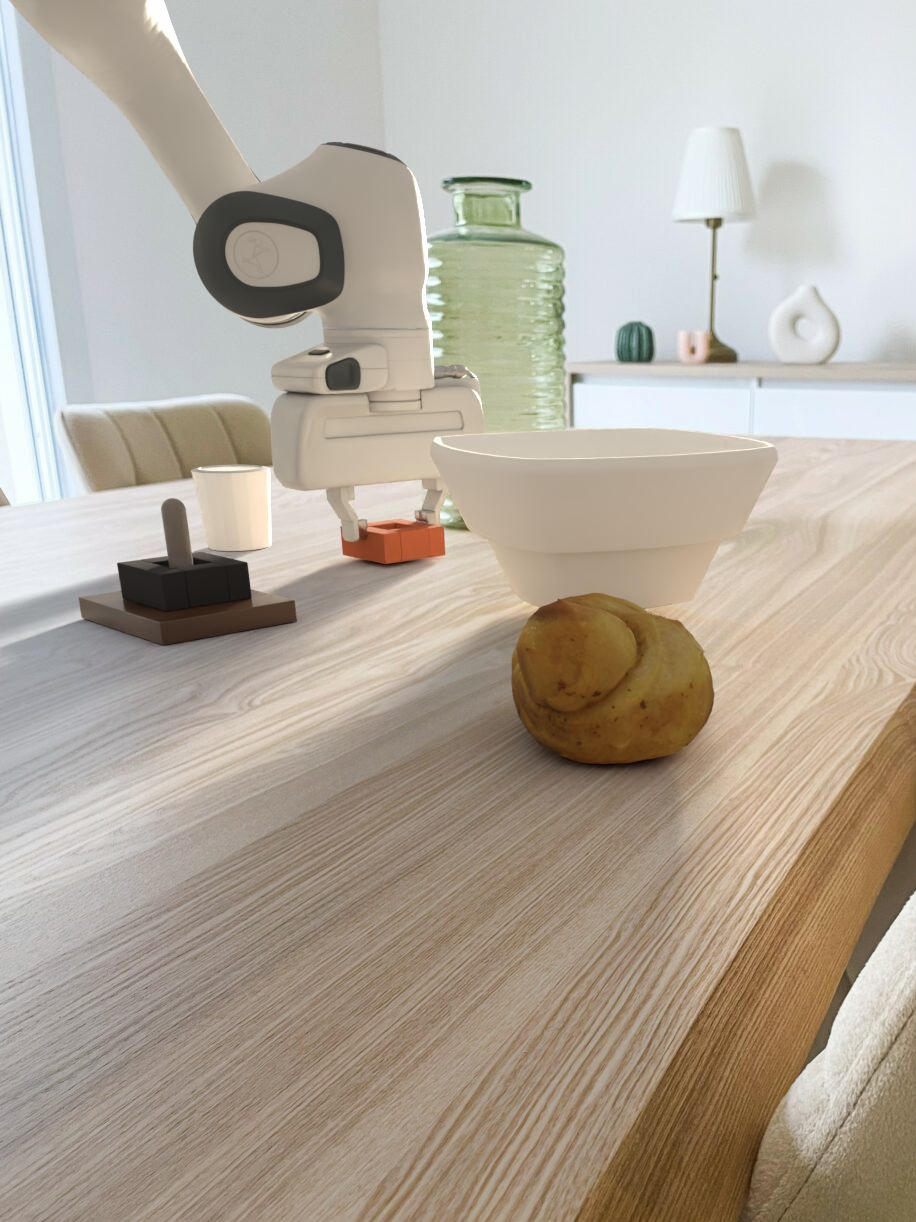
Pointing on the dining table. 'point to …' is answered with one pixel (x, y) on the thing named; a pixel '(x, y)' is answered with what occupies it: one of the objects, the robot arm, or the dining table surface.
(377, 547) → the terracotta pad
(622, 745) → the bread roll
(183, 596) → the charcoal square ring
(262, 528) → the cream cup
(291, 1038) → the dining table surface
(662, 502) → the bowl
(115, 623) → the peg stand
